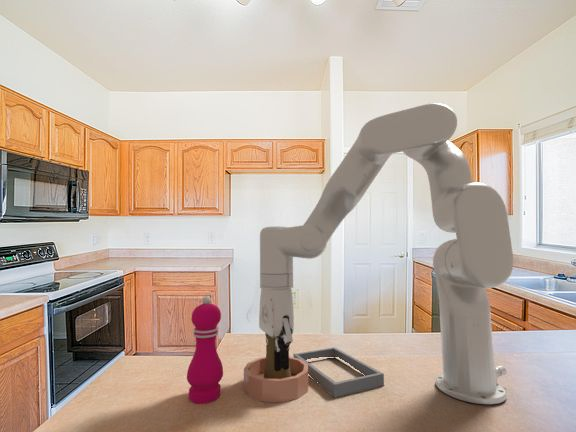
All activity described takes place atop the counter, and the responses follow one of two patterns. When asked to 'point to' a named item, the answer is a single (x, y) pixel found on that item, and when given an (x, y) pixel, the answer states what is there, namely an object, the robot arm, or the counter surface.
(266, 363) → the olive pestle
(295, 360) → the bowl
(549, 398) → the counter surface
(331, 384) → the grey rectangular frame
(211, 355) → the pepper mill
